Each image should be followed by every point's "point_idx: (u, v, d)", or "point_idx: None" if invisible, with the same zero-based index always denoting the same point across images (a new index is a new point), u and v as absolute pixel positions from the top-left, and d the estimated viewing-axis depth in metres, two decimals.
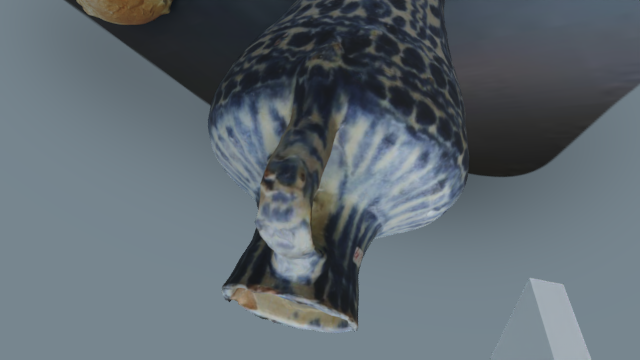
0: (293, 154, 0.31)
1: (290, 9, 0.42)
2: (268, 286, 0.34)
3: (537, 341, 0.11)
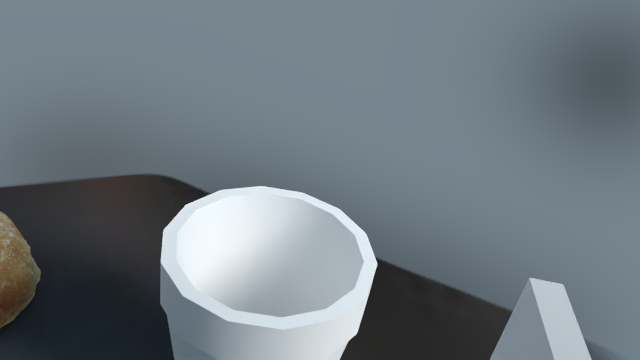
0: None
1: None
2: None
3: (537, 341, 0.11)
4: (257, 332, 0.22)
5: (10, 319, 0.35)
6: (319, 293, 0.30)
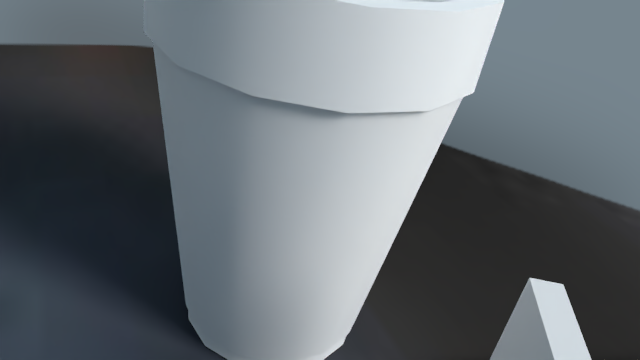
0: None
1: None
2: None
3: (538, 341, 0.11)
4: (320, 17, 0.11)
5: None
6: None
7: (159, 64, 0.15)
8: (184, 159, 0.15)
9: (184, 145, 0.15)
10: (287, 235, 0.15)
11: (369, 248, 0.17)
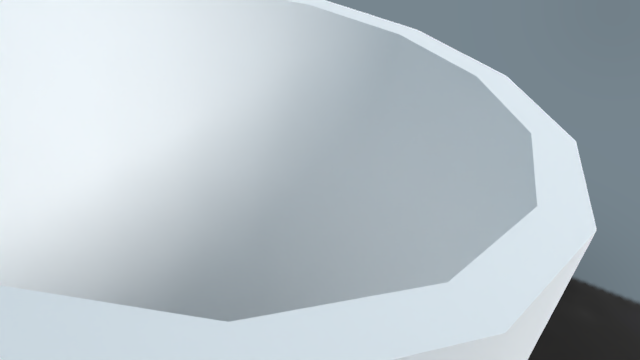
0: None
1: None
2: None
3: None
4: None
5: None
6: (357, 261, 0.12)
7: None
8: None
9: None
10: None
11: None
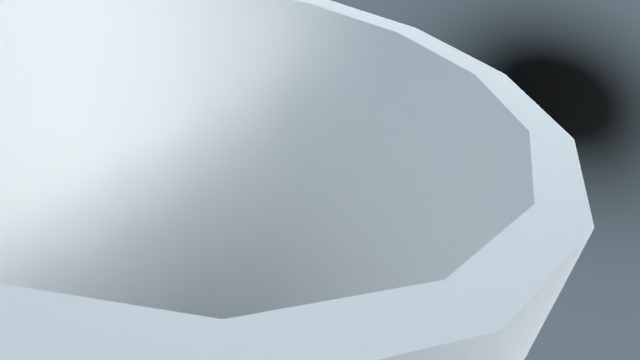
0: None
1: None
2: None
3: None
4: None
5: None
6: (355, 260, 0.12)
7: None
8: None
9: None
10: None
11: None
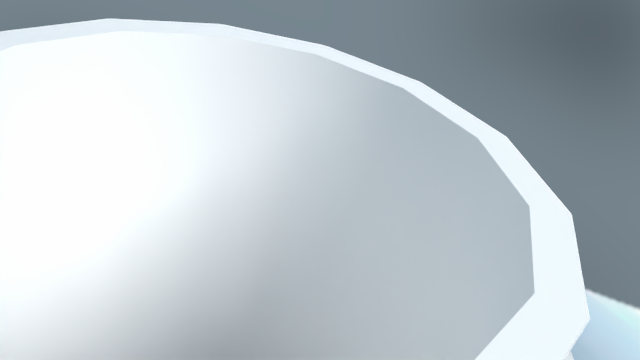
0: None
1: None
2: None
3: None
4: None
5: None
6: (356, 299, 0.12)
7: None
8: None
9: None
10: None
11: None
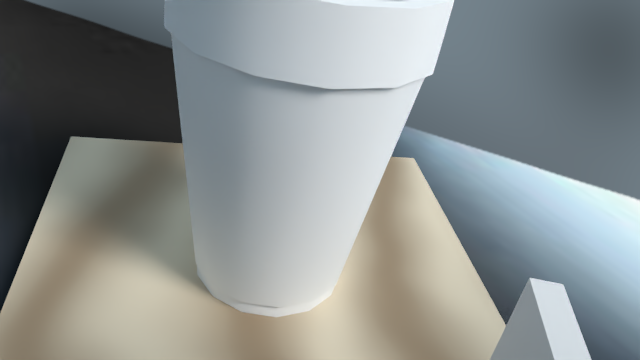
0: None
1: None
2: None
3: (537, 341, 0.11)
4: (307, 13, 0.15)
5: None
6: None
7: (176, 53, 0.18)
8: (197, 131, 0.19)
9: (197, 119, 0.18)
10: (282, 192, 0.19)
11: (350, 205, 0.20)
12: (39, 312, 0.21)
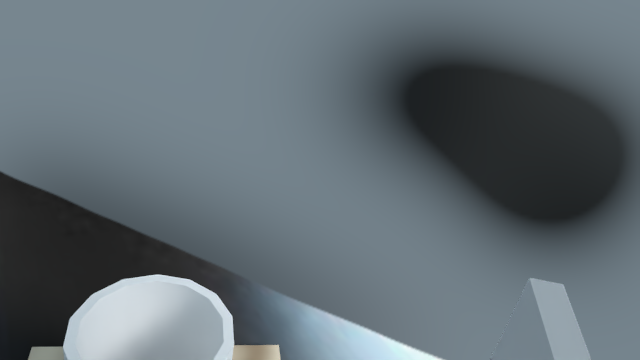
0: None
1: None
2: None
3: (538, 341, 0.11)
4: None
5: None
6: (204, 358, 0.38)
7: None
8: None
9: None
10: None
11: None
12: None
